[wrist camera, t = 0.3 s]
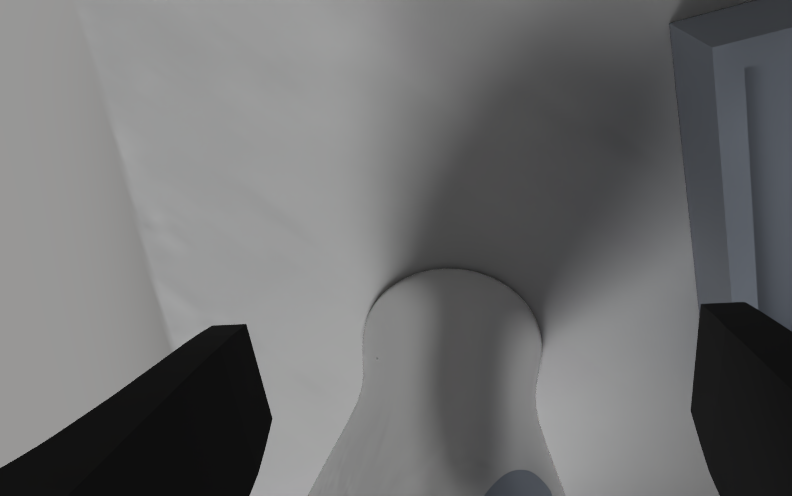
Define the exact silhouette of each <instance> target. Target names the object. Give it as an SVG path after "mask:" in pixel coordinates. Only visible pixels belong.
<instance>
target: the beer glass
mask: <svg viewBox="0 0 792 496" xmlns="http://www.w3.org/2000/svg"><path fill="white" fill-rule="evenodd" d="M362 355H363V382H362V387H361V392H360V394H359V397H358V400H357V403H356V406H355V408H354V410H353V412H352V414H351V416H350V418H349V420H348V422H347V424H346V425H345V427H344V429H343V431H342V433H341V435H340V437H339V438H338V440H337V442H336V444H335V446H334V447H333V449H332V451H331V453H330V455H329V456H328V458H327V460H326V462H325V464H324V466H323V468H322V469H321V471H320V473H319V475H318V477H317V479H316V481H315V483H314V484H313V486H312V488H311V490H310V492H309V494H308V496H566V495H565V492H564V489H563V487H562V484H561V481H560V479H559V476H558V473H557V471H556V468H555V465H554V463H553V460H552V458H551V455H550V452H549V450H548V447H547V444H546V441H545V438H544V435H543V432H542V429H541V426H540V423H539V418H538V413H537V406H536V388H537V380H538V374H539V369H540V364H541V357H542V339H541V333H540V329H539V326H538V323H537V321H536V319H535V317H534V315H533V313H532V311H531V310H530V308H529V307H528V305H527V304H526V303H525V302H524V300H523V299H522V298H521V297H520V296H519V295H518V294H517V293H516V292H515V291H513V290H512V289H511V288H509V287H508V286H507V285H505V284H503V283H502V282H500V281H498V280H496V279H494V278H492V277H490V276H487V275H485V274H482V273H478V272H475V271H470V270H465V269H455V268H442V269H433V270H427V271H423V272H419V273H416V274H413V275H411V276H408V277H406V278H404V279H402V280H400V281H399V282H397V283H396V284H394V285H393V286H391V287H390V288H389V289H388V290H386V291H385V292H384V293H383V294H382V295H381V296H380V298H379V299H378V300H377V301H376V303H375V304H374V306H373V307H372V309H371V311H370V313H369V315H368V317H367V320H366V323H365V327H364V333H363V346H362Z"/></svg>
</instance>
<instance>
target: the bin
mask: <svg viewBox="0 0 792 496" xmlns="http://www.w3.org/2000/svg"><path fill="white" fill-rule="evenodd" d="M669 26H670V35H671V45H672V55H673V64H674V74H675V84H676V93H677V103H678V113H679V122H680V132H681V142H682V151H683V161H684V171H685V180H686V190H687V200H688V209H689V219H690V228H691V238H692V248H693V257H694V267H695V277H696V286H697V296H698V306H699V315H700V307H701V304H709V303H731V302H746V303H748V304H749V305H751V306H753V307H754V308H756V309H758V310H759V311H761V312H763V313H764V314H766V315H767V316H769V317H770V318H772V319H774V320H775V321H777V322H778V323H780V324H781V325H783V326H784V327H786V328H787V329H789V330H790V331H792V0H755V1H751V2H748V3H744V4H740V5H736V6H733V7H729V8H725V9H721V10H718V11H714V12H710V13H706V14H703V15H699V16H695V17H691V18H688V19H684V20H680V21H676V22H673V23H669Z"/></svg>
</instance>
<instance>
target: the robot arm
mask: <svg viewBox="0 0 792 496" xmlns="http://www.w3.org/2000/svg"><path fill="white" fill-rule="evenodd" d="M691 413H692V417H693V420H694V423H695V427H696V430H697V434H698V437H699V441H700V444H701V447H702V450H703V454H704V457H705V460H706V463H707V466H708V469H709V472H710V474H711V477H712V479H713V481H714V484H715V486H716V488H717V490H718V493H719V495H720V496H792V331H790V330H789V329H787V328H786V327H784V326H783V325H781V324H780V323H778V322H777V321H775V320H774V319H772V318H770V317H769V316H767V315H766V314H764V313H763V312H761V311H759V310H758V309H756V308H754V307H753V306H751V305H749V304H748V303H746V302H731V303H709V304H701V307H700V318H699V329H698V339H697V350H696V361H695V371H694V382H693V393H692V403H691ZM271 422H272V416H271V412H270V409H269V405H268V401H267V398H266V394H265V390H264V387H263V383H262V380H261V376H260V372H259V369H258V365H257V362H256V358H255V354H254V351H253V347H252V344H251V340H250V336H249V333H248V329H247V325H246V324H240V325H218V326H211V327H209V328H208V329H206V330H204V331H203V332H201V333H200V334H198V335H197V336H195V337H194V338H192V339H191V340H189V341H188V342H186V343H185V344H184V345H182V346H181V347H179V348H178V349H177V350H175V351H174V352H172V353H171V354H170V355H168V356H167V357H165V358H164V359H163V360H161V361H160V362H159V363H157V364H156V365H155V366H153V367H152V368H151V369H149V370H148V371H146V372H145V373H144V374H142V375H141V376H139V377H138V378H137V379H135V380H134V381H132V382H131V383H130V384H128V385H127V386H126V387H124V388H123V389H121V390H120V391H119V392H117V393H116V394H115V395H113V396H112V397H110V398H109V399H108V400H106V401H104V402H103V403H101V404H100V405H99V406H97V407H96V408H94V409H93V410H91V411H90V412H88V413H87V414H85V415H84V416H82V417H81V418H79V419H78V420H76V421H75V422H73V423H72V424H71V425H69V426H68V427H66V428H65V429H63V430H62V431H60V432H59V433H57V434H56V435H54V436H53V437H51V438H49V439H48V440H46V441H45V442H43V443H42V444H40V445H39V446H37V447H35V448H34V449H32V450H30V451H29V452H27V453H25V454H24V455H22V456H20V457H19V458H17V459H16V460H14V461H12V462H10V463H8V464H7V465H5V466H3V467H1V468H0V496H249V495H250V493H251V490H252V488H253V485H254V483H255V480H256V478H257V475H258V472H259V469H260V465H261V461H262V458H263V454H264V451H265V447H266V443H267V439H268V434H269V430H270V426H271Z"/></svg>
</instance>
